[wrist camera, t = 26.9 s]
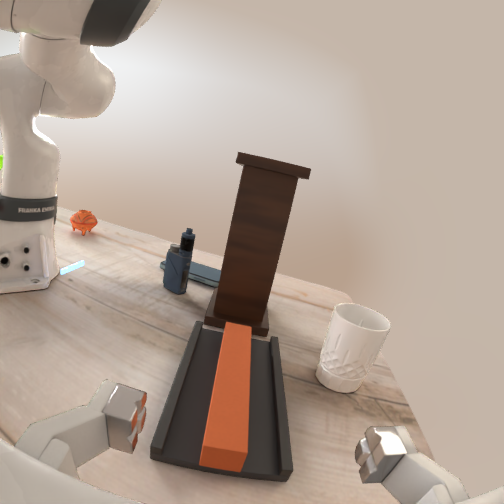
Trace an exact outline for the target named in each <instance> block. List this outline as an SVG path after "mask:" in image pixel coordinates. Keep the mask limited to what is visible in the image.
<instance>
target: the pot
mask: <svg viewBox="0 0 504 504" xmlns="http://www.w3.org/2000/svg"><path fill="white" fill-rule="evenodd" d="M70 221H71V223H72V227H73V231H75V228H76V229H78V230H81V231H82V235H85V232H86V231H87V230H88V231H89V232H90V231H91V229H92V228H93V227H94V226H96V224H97V219H96V218H95V216H94V215H93V214H91V212H90V211H86V210H80V211H79V212H77V213H75V214H74V215H73V216H72V217H71V219H70Z"/></svg>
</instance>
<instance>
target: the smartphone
mask: <svg viewBox="0 0 504 504" xmlns="http://www.w3.org/2000/svg"><path fill="white" fill-rule="evenodd" d="M165 263H166V261H163V262H161V263H160V267H161V268H162V269H165ZM220 274H221V270H218V269H214V268H211V267H208V266H205V265H201V264H198V263H195V262H192V261H191V265H190V270H189V276H188V278H191V279H194V280H197V281H200V282H202V283H205V284H207V285H210V286H213V287H218V284H219V279H220Z"/></svg>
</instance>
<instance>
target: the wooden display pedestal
mask: <svg viewBox="0 0 504 504" xmlns="http://www.w3.org/2000/svg"><path fill="white" fill-rule="evenodd" d="M236 163H237V164H239V165H242V166H243V171H242V175H241V180H240V184H239V189H238V193H237V198H236V202H235V207H234V212H233V217H232V221H231V226H230V231H229V235H228V240H227V245H226V250H225V255H224V260H223V264H222V269H221V274H220V279H219V284H218V289H217V288H214V291H213V294H212V297H211V300H210V303H209V306H208V309H207V312H206V315H205V319H204V324H206V325H211V326H215V327H220V328H225V325H226V322H230V323H235V324H240V325H245V326H250V327H252V329H251V334H254V335H259V336H265V337H267V334H268V331H269V323H268V310H267V303H268V299H269V295H270V291H271V287H272V283H273V280H274V276H275V272H276V268H277V264H278V260H279V255H280V252H281V248H282V244H283V240H284V236H285V232H286V227H287V223H288V219H289V215H290V211H291V207H292V202H293V198H294V194H295V190H296V186H297V181H298V178H301V179H309V176H310V171H311V169H310V168H306V167H302V166H298V165H294V164H289V163H285V162H281V161H277V160H273V159H268V158H264V157H260V156H255V155H250V154H246V153H241V152H238V154H237V159H236Z"/></svg>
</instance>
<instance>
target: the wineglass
mask: <svg viewBox="0 0 504 504" xmlns="http://www.w3.org/2000/svg"><path fill="white" fill-rule="evenodd" d="M2 166H3V155H0V170H1V168H2Z"/></svg>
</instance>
